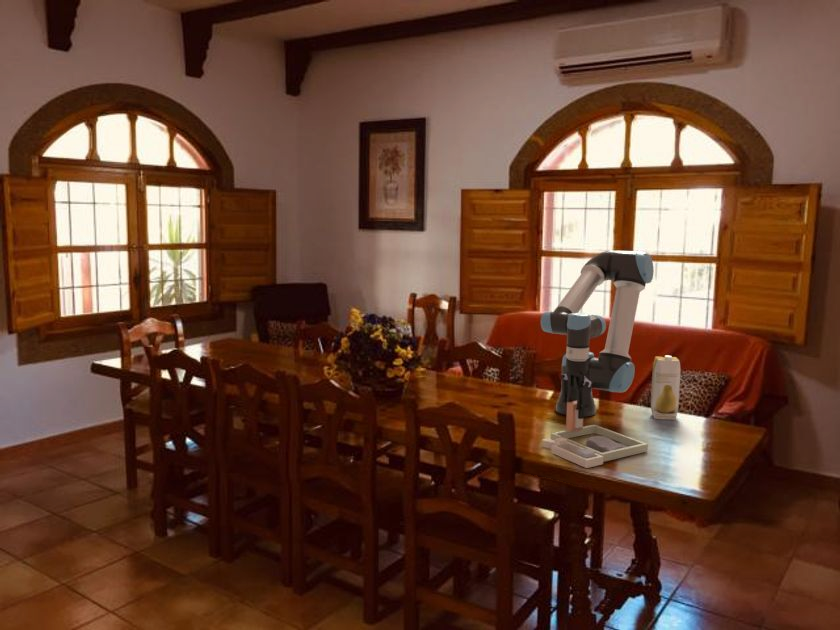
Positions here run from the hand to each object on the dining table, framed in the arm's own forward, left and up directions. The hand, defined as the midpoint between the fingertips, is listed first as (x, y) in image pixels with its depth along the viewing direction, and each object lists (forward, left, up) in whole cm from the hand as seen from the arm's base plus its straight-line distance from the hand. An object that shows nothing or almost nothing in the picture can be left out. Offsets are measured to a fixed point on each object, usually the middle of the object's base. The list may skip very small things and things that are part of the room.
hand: (574, 425), depth 248 cm
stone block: (+16, 0, -4) cm, 17 cm away
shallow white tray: (+11, 0, -4) cm, 12 cm away
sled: (+17, -14, -4) cm, 23 cm away
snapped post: (+4, -14, -4) cm, 15 cm away
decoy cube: (+21, -14, -4) cm, 26 cm away
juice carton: (-1, +46, -4) cm, 46 cm away
